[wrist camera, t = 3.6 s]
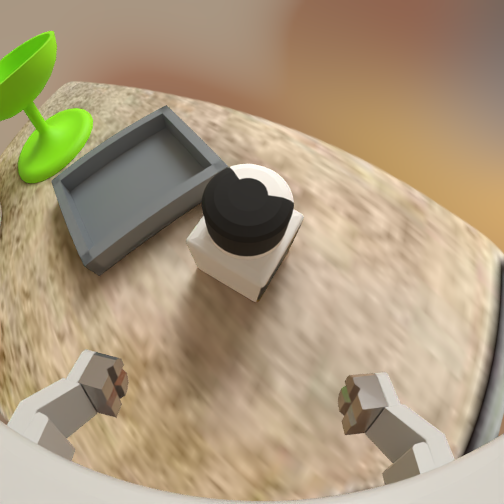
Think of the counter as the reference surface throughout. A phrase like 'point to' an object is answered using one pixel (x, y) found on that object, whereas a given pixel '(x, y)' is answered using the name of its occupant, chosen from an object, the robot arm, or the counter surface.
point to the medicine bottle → (244, 228)
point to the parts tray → (133, 187)
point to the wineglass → (21, 98)
